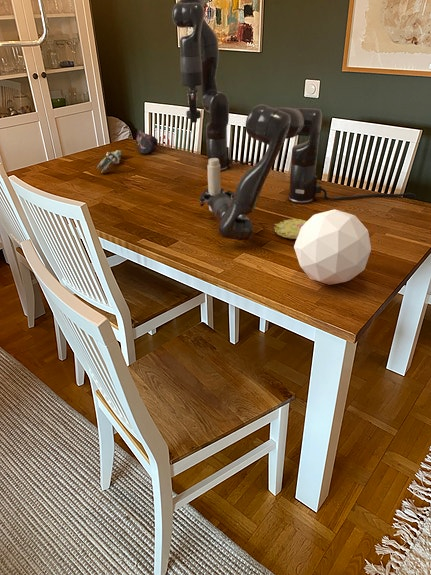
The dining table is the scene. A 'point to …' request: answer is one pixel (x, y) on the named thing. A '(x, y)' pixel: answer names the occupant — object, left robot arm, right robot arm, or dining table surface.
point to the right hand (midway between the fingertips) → (213, 191)
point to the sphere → (333, 247)
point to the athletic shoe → (146, 142)
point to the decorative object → (290, 228)
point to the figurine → (110, 160)
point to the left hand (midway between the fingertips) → (194, 120)
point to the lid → (190, 114)
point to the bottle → (214, 177)
